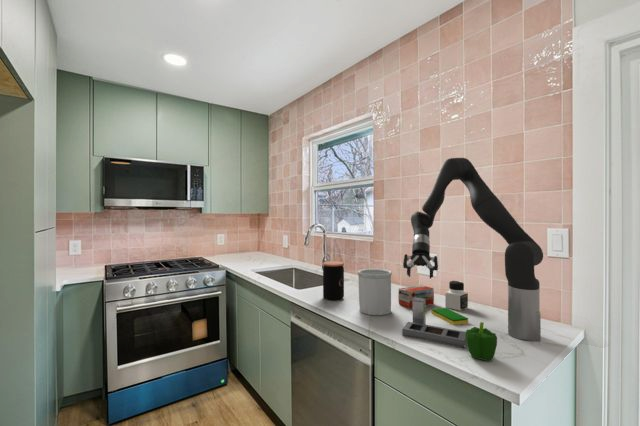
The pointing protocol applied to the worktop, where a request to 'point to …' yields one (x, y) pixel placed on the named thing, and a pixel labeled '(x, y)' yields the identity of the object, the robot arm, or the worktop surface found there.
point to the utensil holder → (375, 291)
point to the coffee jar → (333, 280)
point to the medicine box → (415, 295)
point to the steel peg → (419, 310)
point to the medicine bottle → (456, 296)
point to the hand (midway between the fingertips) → (419, 276)
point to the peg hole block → (435, 334)
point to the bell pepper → (481, 343)
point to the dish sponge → (450, 316)
